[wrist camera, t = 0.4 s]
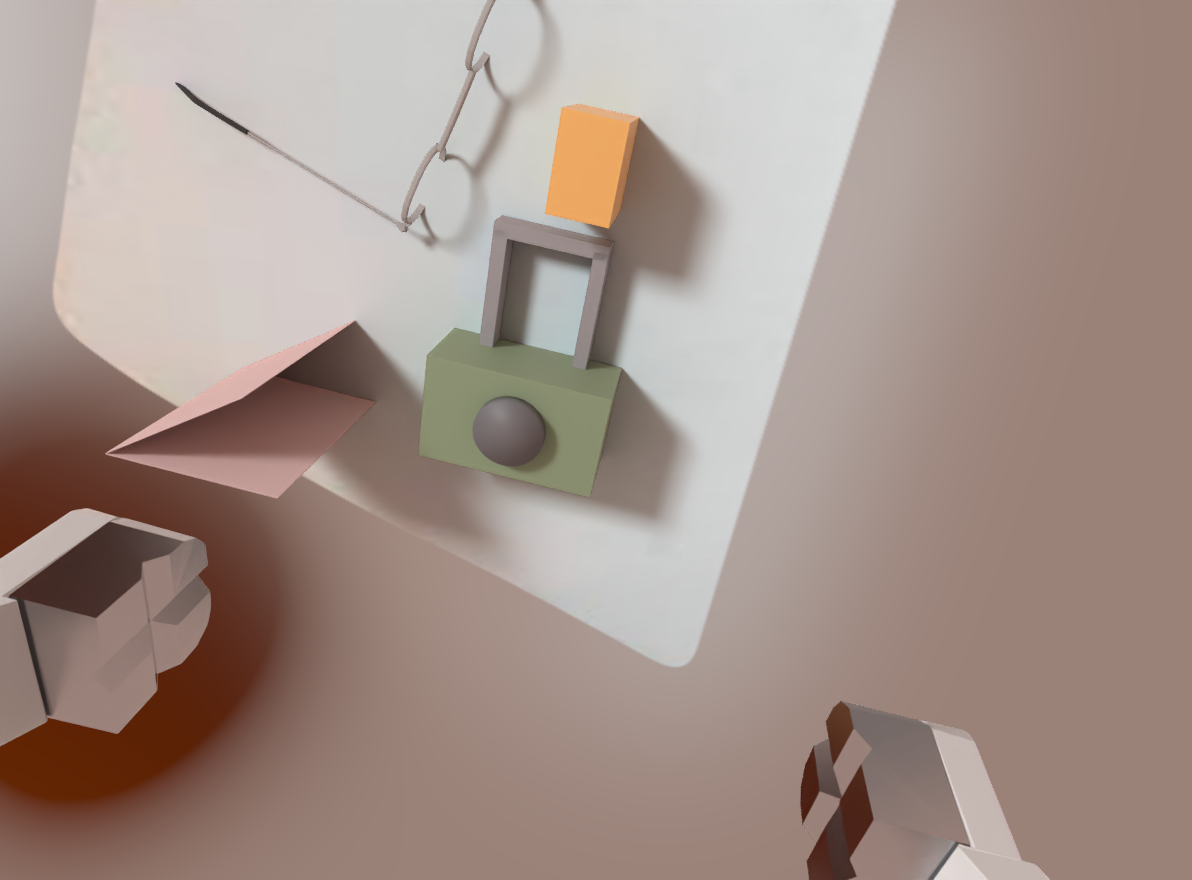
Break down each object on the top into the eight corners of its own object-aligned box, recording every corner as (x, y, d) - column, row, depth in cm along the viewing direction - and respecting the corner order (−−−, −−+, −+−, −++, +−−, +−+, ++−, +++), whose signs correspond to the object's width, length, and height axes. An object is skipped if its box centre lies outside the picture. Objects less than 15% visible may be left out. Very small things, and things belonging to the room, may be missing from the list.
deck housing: (467, 207, 50) (433, 225, 44) (649, 249, 50) (640, 274, 43) (444, 420, 58) (413, 461, 52) (600, 458, 58) (587, 504, 51)
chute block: (579, 103, 46) (561, 107, 41) (639, 117, 46) (630, 122, 41) (563, 198, 49) (545, 213, 44) (620, 212, 49) (608, 228, 44)
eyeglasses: (421, 231, 52) (398, 241, 48) (184, 86, 50) (142, 86, 47) (533, -28, 44) (515, -39, 40) (254, -211, 42) (210, -239, 38)
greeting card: (242, 378, 59) (106, 465, 46) (239, 291, 56) (91, 359, 42) (375, 411, 59) (277, 509, 45) (381, 326, 55) (276, 406, 42)
